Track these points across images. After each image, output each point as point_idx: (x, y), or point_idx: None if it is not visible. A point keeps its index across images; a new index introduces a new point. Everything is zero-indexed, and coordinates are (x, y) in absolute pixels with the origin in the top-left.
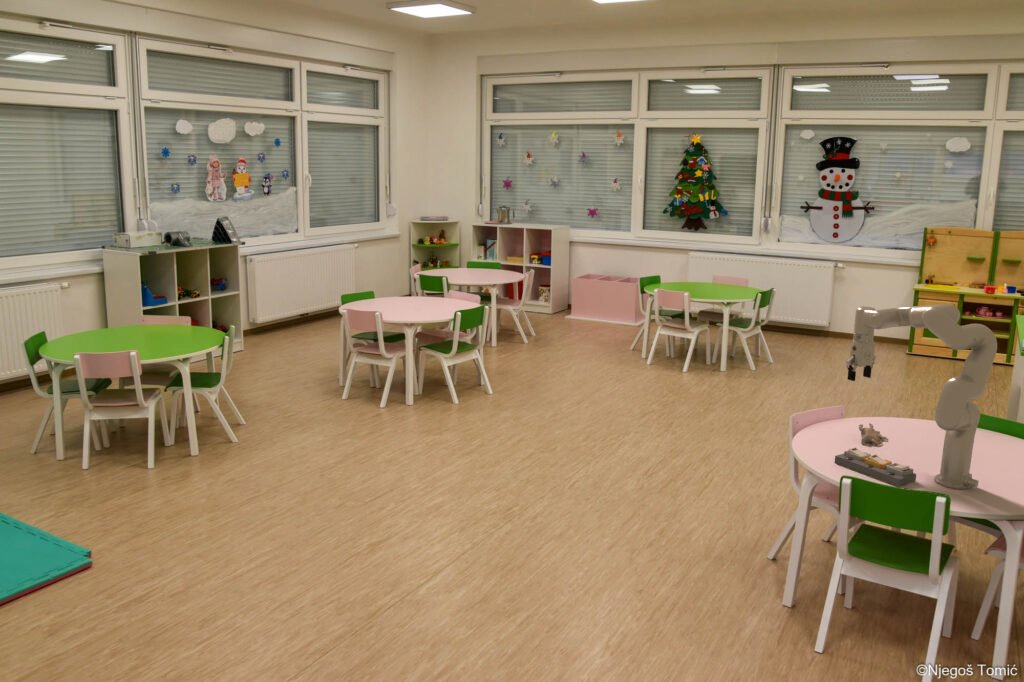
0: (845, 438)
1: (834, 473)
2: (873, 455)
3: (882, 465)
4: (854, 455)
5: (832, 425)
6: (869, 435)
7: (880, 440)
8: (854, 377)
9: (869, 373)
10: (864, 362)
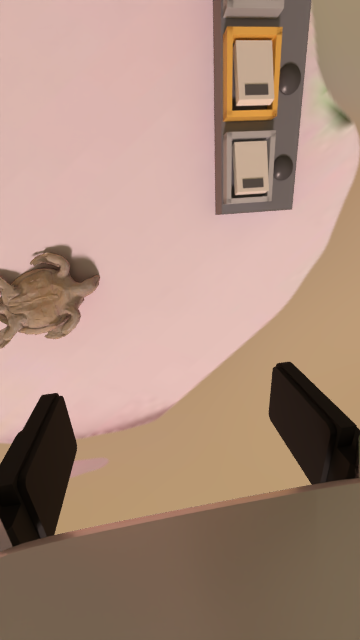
0: (104, 334)
1: (346, 150)
2: (254, 96)
3: (277, 29)
4: (273, 160)
5: None
6: (64, 287)
7: (22, 278)
8: (308, 379)
9: (49, 427)
10: (334, 591)
